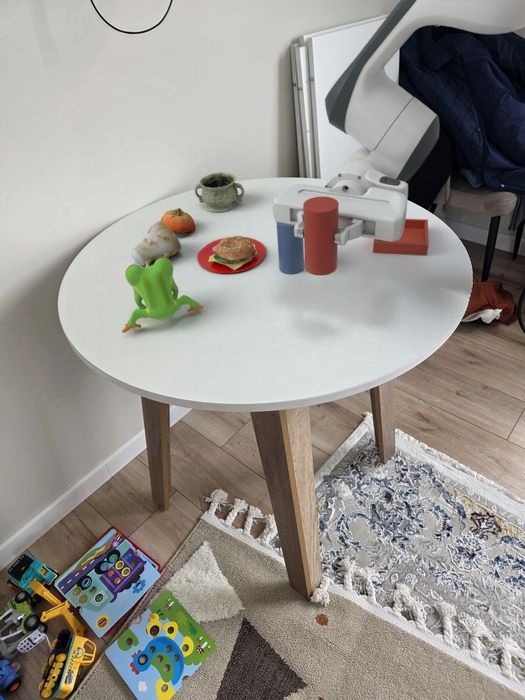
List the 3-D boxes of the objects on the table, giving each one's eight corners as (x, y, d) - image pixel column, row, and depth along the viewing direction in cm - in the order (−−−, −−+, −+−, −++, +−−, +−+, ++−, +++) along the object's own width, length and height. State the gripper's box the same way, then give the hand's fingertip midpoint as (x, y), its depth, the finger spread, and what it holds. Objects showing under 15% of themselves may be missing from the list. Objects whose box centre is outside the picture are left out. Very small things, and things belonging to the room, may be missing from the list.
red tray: (426, 229, 101) (427, 219, 99) (426, 255, 94) (428, 244, 92) (376, 227, 103) (376, 217, 102) (372, 252, 96) (373, 242, 94)
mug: (125, 263, 101) (131, 214, 98) (170, 268, 106) (177, 222, 103) (135, 270, 95) (142, 218, 92) (182, 276, 100) (190, 227, 97)
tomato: (193, 233, 104) (168, 208, 102) (173, 253, 108) (148, 229, 106) (203, 221, 111) (179, 197, 109) (184, 240, 114) (161, 217, 112)
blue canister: (306, 261, 96) (305, 214, 89) (301, 275, 92) (300, 226, 85) (282, 260, 97) (279, 213, 90) (277, 273, 93) (273, 225, 87)
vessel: (248, 196, 119) (246, 171, 115) (242, 213, 113) (239, 187, 109) (201, 197, 121) (197, 172, 117) (192, 213, 115) (187, 188, 111)
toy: (193, 291, 91) (183, 244, 84) (207, 318, 85) (197, 268, 78) (116, 314, 88) (99, 266, 81) (125, 343, 81) (108, 294, 75)
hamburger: (279, 247, 100) (277, 220, 96) (239, 281, 92) (236, 254, 88) (224, 232, 107) (221, 207, 103) (183, 263, 98) (178, 237, 94)
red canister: (340, 260, 74) (342, 197, 67) (332, 277, 71) (333, 213, 64) (310, 256, 75) (309, 194, 69) (300, 273, 72) (298, 210, 65)
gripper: (292, 168, 79) (252, 205, 71) (419, 184, 71) (391, 227, 63) (293, 204, 84) (256, 243, 75) (413, 223, 76) (386, 269, 67)
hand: (318, 236), depth 69 cm, fingers closed on red canister, 5 cm apart
